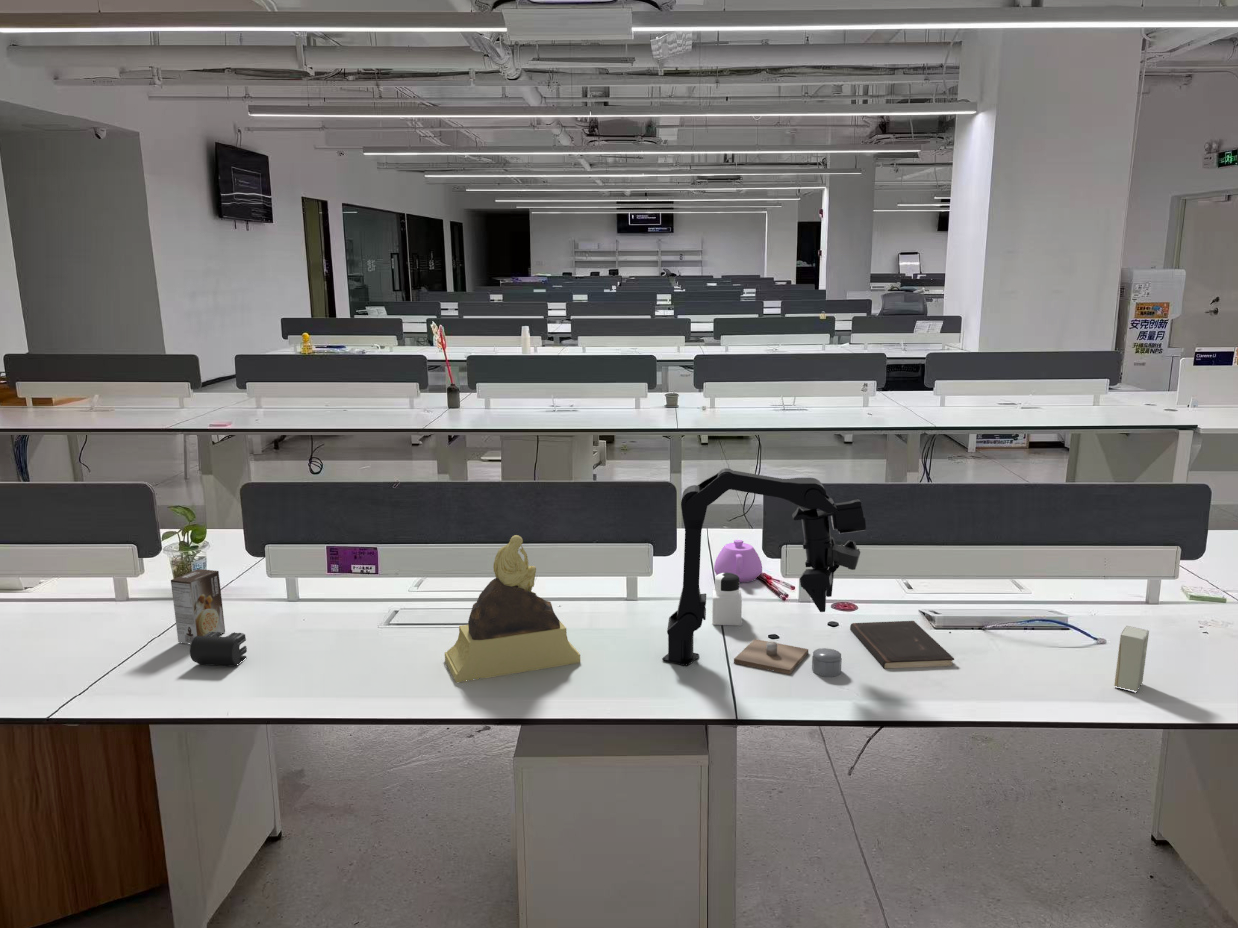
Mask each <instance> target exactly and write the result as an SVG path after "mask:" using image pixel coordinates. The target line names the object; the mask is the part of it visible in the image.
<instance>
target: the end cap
mask: <svg viewBox="0 0 1238 928" xmlns="http://www.w3.org/2000/svg"><path fill="white" fill-rule="evenodd" d="M220 634H221V632H209V633H207V634H206V635H204V636H196V637H195V638H194V639H193V641H192V643H191V645H190V647H189V655H190V656H189V657H190V658H191V661H192V662H194V663H197V664H198V665H206V664H214V665H213V666H228V665H234V666H233V667H237V666H236V665H237V664H239V663H240V662H241V661H243V660H244V659H245V658H246V659H247V656H246V655H245V654H246V653H247V652H248V651H247V650H248V648H247V645H244V646H242V647H241V648H240V646H241V645H242V644H243V643H245V642H246V641H247V638H246V634H245V633H243V632H231V634H228V635H227V636H221V635H222V634H221V635H220ZM244 661H245V660H244ZM244 661H243V662H244ZM239 665H240V664H239Z"/></svg>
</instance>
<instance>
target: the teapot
mask: <svg viewBox="0 0 1238 928" xmlns="http://www.w3.org/2000/svg"><path fill="white" fill-rule="evenodd" d="M713 566H714V567H713V569H714V570H713V571H714V573H715V574H716V575H718V574H721V573H733V574H736V575H738V577H739V583H748V581H749V582H753V581H755V580H756V579H755V578H757V576H759V575H760V574H761V575H762V573H763V564H762V560H761V558H760V556H759V554H758V553H757V551H756V549H755V548H754V546H753V545H751V544H749V543H745V542H744V540H743V539H734V540H733V542H730V543H726V544H725V545H723V546H722V548H721V550H720V551H719V552H718V555H717V556H716V558H715V562H714V565H713ZM759 577H760V576H759ZM754 579H755V580H754ZM757 579H758V578H757ZM752 580H753V581H752Z"/></svg>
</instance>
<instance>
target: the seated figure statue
mask: <svg viewBox="0 0 1238 928" xmlns="http://www.w3.org/2000/svg"><path fill="white" fill-rule="evenodd" d="M523 543H524V540H523V537H522V536H520V535H519V534H518V535H517V534H515V535H512V537H510V539H509V542H508V543H507V544H505V545H504V546H501V547H500V548H499V549H498V551H497V552H496V555H495V558H494V561H493V567H492V568H493V573H494V575H495V578H493V579H492V580H491V581H490V582H489V583H487V584H486V587H484V588H483V590H482V591H481V592H480V593H479V595H478V599H477V600H476V602H474V603H473V604H472V606H471V607H472V608H471V611H470V614H469V617H468V620H467V621H468V623H467V624H463V625H458V631H459V632H458V638H457V640H456V641H455V642H454V645H453V646H451V647H450V648H449V649H448V650H447V651H446V652H444V661H445V663H446V665H447V667H448V670H449V671H450V673H451V675H452V677H453V680H454V681H455V683H456V684H458V683H457V682H459V683H463V682H462V681H465V682H469V681H468V680H471V681H474V680H473V679H477V680H480V679H479V678H483V679H488V678H493V677H499V676H508V675H512V674H513V675H514V674H519V673H524V672H531V671H536V670H545V669H548V668H555V667H561V666H567V665H573V664H579V663H581V653H579V651H578V650H577V649H576V648H575V647H574V645H573V644H572V643H571V642H570V641H569V639H568V635H567V627H566V626H565V625H564V624H563V622H562V621H560V619H559V618H558V617H557V615H556V613H555V611H554V608H553V605H552V602H551V601H548V600H545V599H544V598H542V597H539V596H538V595H537V592H533V591H532V589H533V587H534V586H535V579H536V574H537V573H536V572H537V567H536V566H535V565H530V564H529V563H530V562H529V559H528V554H527V552H526V551H525V549H524V546H522V545H523ZM520 547H521V548H520ZM519 552H520V553H521V554H522V555H523V557H524V559H523V558H522V556H521V555H520V553H519ZM466 680H467V681H466Z"/></svg>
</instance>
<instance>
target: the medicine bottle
mask: <svg viewBox="0 0 1238 928" xmlns="http://www.w3.org/2000/svg"><path fill="white" fill-rule="evenodd" d="M714 579H715V580H714V588H713V589H712V611H711V613H712V615H711V616H712V625H713V626H737V627H738V626H740V627H741V626H742V609H743V608H742V606H743V604H742V603H743V600H742V598H743V596H742V590H741V589H740V582H739V577H738V575H736V574H733V573H721V574H718V575H717V574H716V575H715V577H714Z"/></svg>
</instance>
